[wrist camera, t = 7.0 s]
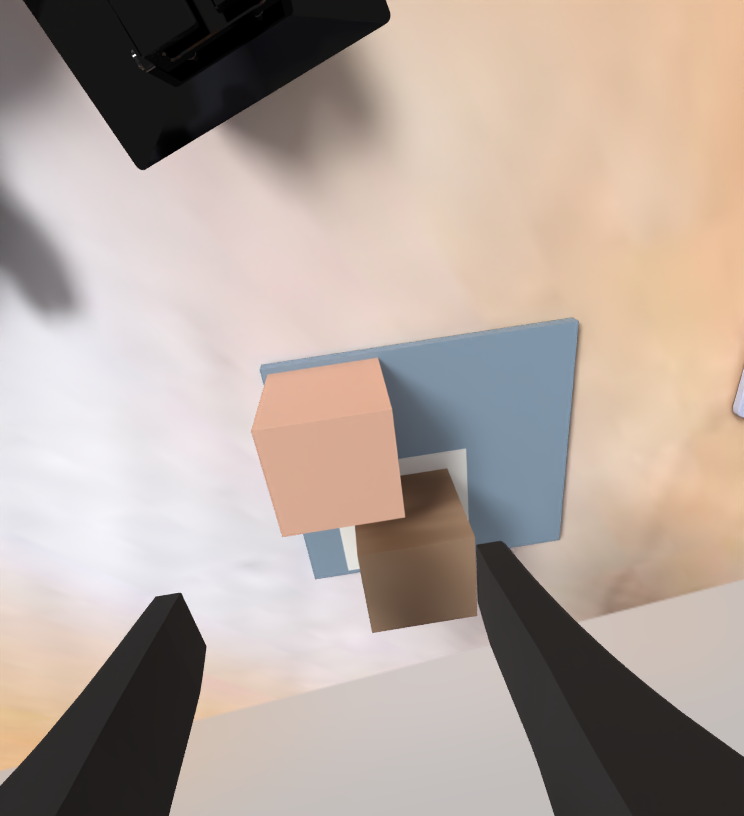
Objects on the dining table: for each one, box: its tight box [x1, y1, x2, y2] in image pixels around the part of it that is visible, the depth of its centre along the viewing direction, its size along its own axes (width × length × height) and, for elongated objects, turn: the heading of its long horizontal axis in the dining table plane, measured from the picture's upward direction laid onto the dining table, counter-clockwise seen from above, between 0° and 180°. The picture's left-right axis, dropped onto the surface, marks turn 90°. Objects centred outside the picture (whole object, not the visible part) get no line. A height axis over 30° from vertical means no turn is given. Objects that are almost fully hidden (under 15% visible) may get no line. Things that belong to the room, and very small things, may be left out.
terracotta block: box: [251, 358, 405, 537], centre depth 17 cm, size 4×4×4 cm
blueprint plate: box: [260, 318, 579, 579], centre depth 21 cm, size 13×12×1 cm
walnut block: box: [355, 468, 477, 633], centre depth 20 cm, size 4×4×4 cm
